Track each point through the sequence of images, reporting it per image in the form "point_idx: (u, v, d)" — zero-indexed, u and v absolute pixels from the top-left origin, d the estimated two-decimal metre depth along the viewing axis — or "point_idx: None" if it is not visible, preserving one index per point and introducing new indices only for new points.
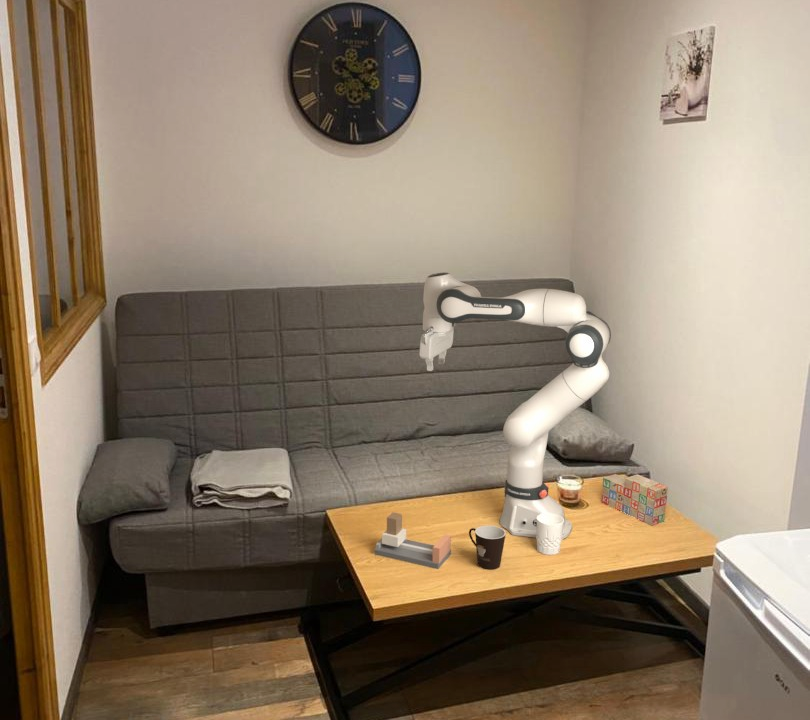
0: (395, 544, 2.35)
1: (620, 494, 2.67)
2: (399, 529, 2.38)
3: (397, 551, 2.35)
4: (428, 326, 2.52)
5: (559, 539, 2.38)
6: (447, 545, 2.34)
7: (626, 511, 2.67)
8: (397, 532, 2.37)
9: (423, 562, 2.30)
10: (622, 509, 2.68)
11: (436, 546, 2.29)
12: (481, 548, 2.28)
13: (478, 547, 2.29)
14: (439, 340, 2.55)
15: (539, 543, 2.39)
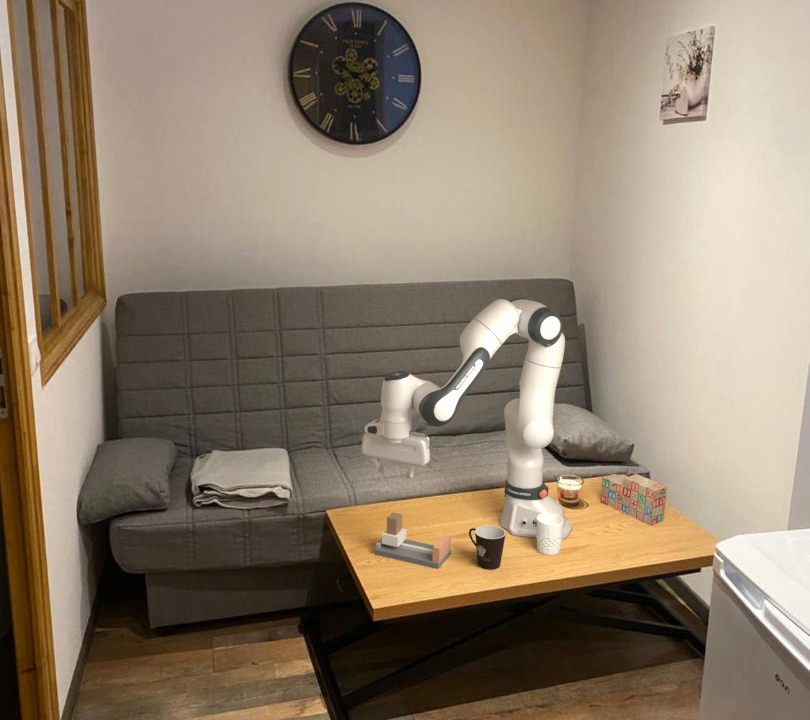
0: (395, 544, 2.35)
1: (619, 494, 2.68)
2: (399, 529, 2.38)
3: (397, 551, 2.35)
4: (407, 431, 2.28)
5: (559, 539, 2.38)
6: (447, 545, 2.34)
7: (625, 511, 2.67)
8: (397, 532, 2.37)
9: (423, 562, 2.30)
10: (621, 509, 2.68)
11: (436, 546, 2.29)
12: (481, 548, 2.28)
13: (478, 547, 2.29)
14: None
15: (539, 543, 2.39)
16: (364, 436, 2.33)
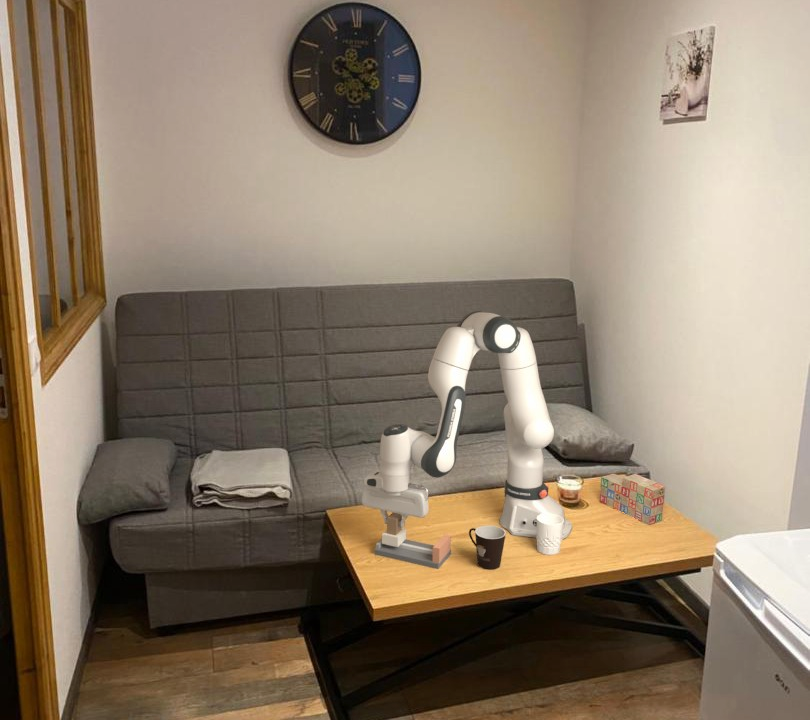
0: (395, 544, 2.35)
1: (618, 493, 2.68)
2: (399, 529, 2.38)
3: (397, 551, 2.35)
4: (406, 484, 2.32)
5: (559, 539, 2.38)
6: (447, 545, 2.34)
7: (624, 510, 2.67)
8: (397, 532, 2.37)
9: (423, 562, 2.30)
10: (620, 508, 2.68)
11: (436, 546, 2.29)
12: (481, 548, 2.28)
13: (478, 547, 2.29)
14: None
15: (539, 543, 2.39)
16: (364, 488, 2.36)
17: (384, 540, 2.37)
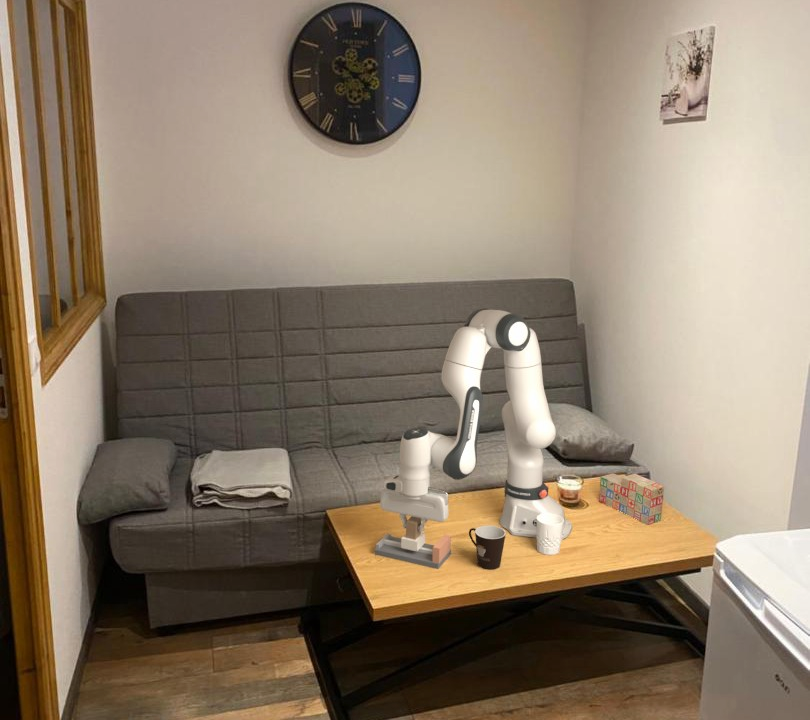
0: (414, 548, 2.33)
1: (617, 493, 2.68)
2: (418, 533, 2.35)
3: (397, 551, 2.35)
4: (426, 488, 2.29)
5: (559, 539, 2.38)
6: (447, 545, 2.34)
7: (623, 510, 2.67)
8: (416, 536, 2.34)
9: (423, 562, 2.30)
10: (619, 508, 2.69)
11: (436, 546, 2.29)
12: (481, 548, 2.28)
13: (478, 547, 2.29)
14: None
15: (539, 543, 2.39)
16: (383, 492, 2.34)
17: (403, 544, 2.34)
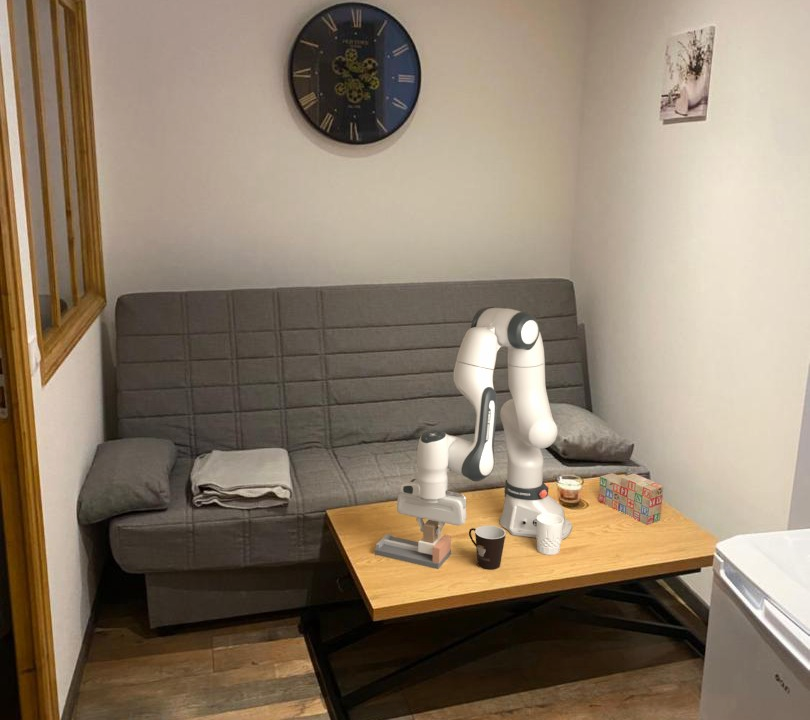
0: (432, 552, 2.31)
1: (617, 493, 2.68)
2: (435, 537, 2.33)
3: (397, 551, 2.35)
4: (444, 491, 2.27)
5: (559, 539, 2.38)
6: (447, 545, 2.34)
7: (622, 510, 2.67)
8: (434, 540, 2.32)
9: (423, 562, 2.30)
10: (618, 508, 2.69)
11: (436, 546, 2.29)
12: (481, 548, 2.28)
13: (478, 547, 2.29)
14: None
15: (539, 543, 2.39)
16: (400, 495, 2.32)
17: (420, 548, 2.32)
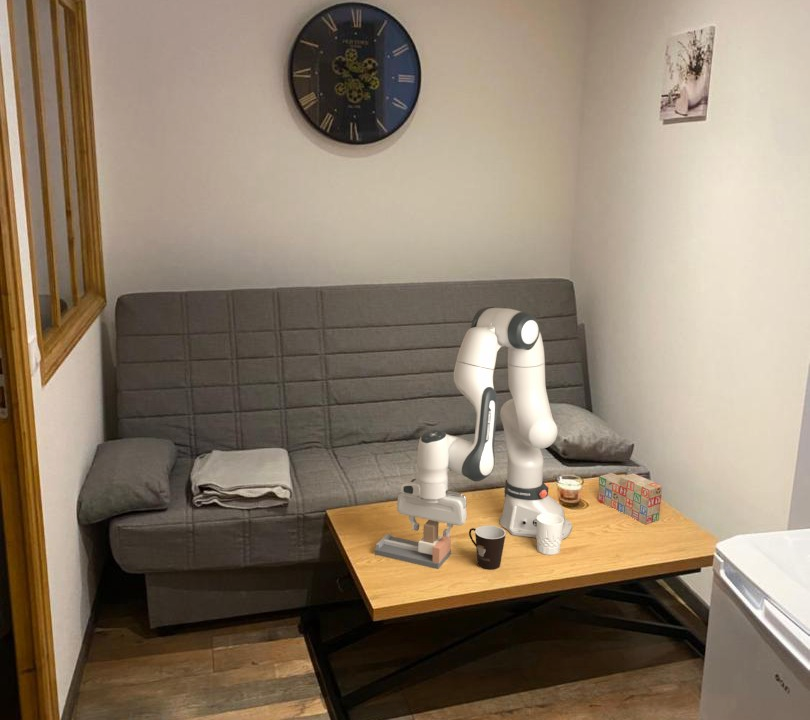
0: (432, 552, 2.31)
1: (616, 492, 2.69)
2: (436, 537, 2.33)
3: (397, 551, 2.35)
4: (444, 491, 2.27)
5: (559, 539, 2.38)
6: (447, 545, 2.34)
7: (621, 510, 2.68)
8: (434, 540, 2.32)
9: (423, 562, 2.30)
10: (617, 508, 2.69)
11: (436, 546, 2.29)
12: (481, 548, 2.28)
13: (478, 547, 2.29)
14: None
15: (539, 543, 2.39)
16: (400, 495, 2.32)
17: (420, 548, 2.32)
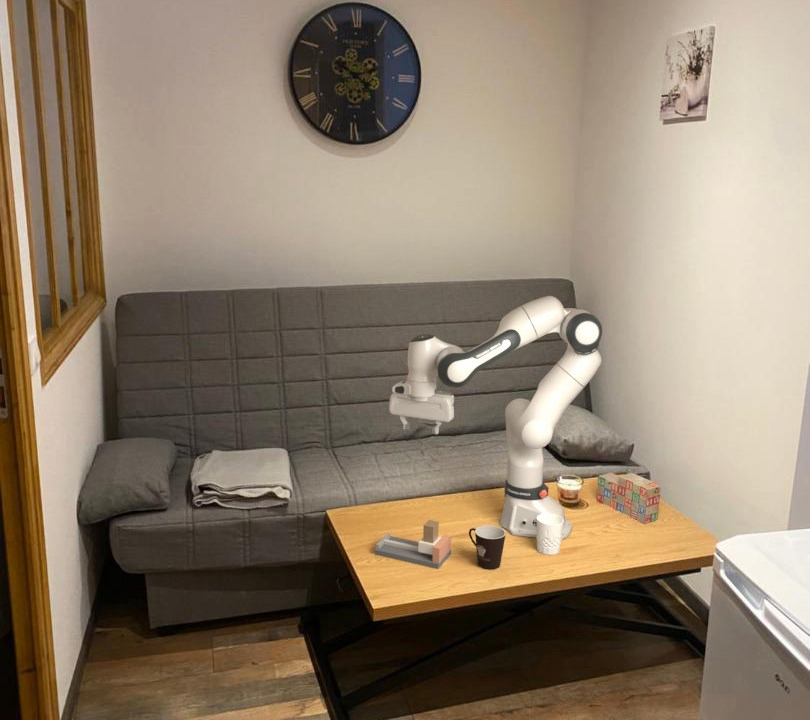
0: (432, 552, 2.31)
1: (614, 492, 2.69)
2: (436, 537, 2.33)
3: (397, 551, 2.35)
4: (433, 390, 2.44)
5: (559, 539, 2.38)
6: (447, 545, 2.34)
7: (620, 509, 2.68)
8: (434, 540, 2.32)
9: (423, 562, 2.30)
10: (616, 507, 2.69)
11: (436, 546, 2.29)
12: (481, 548, 2.28)
13: (478, 547, 2.29)
14: None
15: (539, 543, 2.39)
16: (391, 396, 2.48)
17: (420, 548, 2.32)
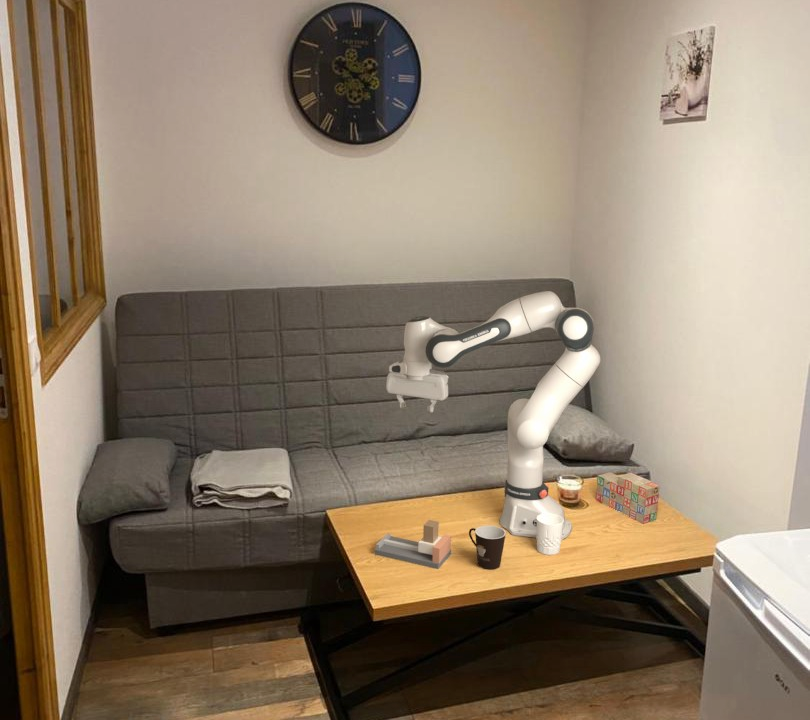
0: (432, 552, 2.31)
1: (614, 492, 2.69)
2: (436, 537, 2.33)
3: (397, 551, 2.35)
4: (428, 370, 2.54)
5: (559, 539, 2.38)
6: (447, 545, 2.34)
7: (619, 509, 2.68)
8: (434, 540, 2.32)
9: (423, 562, 2.30)
10: (615, 507, 2.69)
11: (436, 546, 2.29)
12: (481, 548, 2.28)
13: (478, 547, 2.29)
14: None
15: (539, 543, 2.39)
16: (388, 375, 2.58)
17: (420, 548, 2.32)
